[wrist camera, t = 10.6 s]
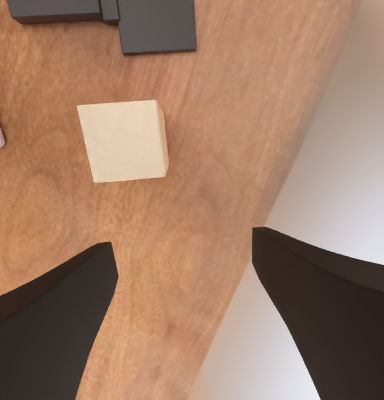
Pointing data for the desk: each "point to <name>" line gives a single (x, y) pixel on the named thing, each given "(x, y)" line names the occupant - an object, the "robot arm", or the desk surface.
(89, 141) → the cream block
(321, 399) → the robot arm
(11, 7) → the spatula
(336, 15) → the desk surface
